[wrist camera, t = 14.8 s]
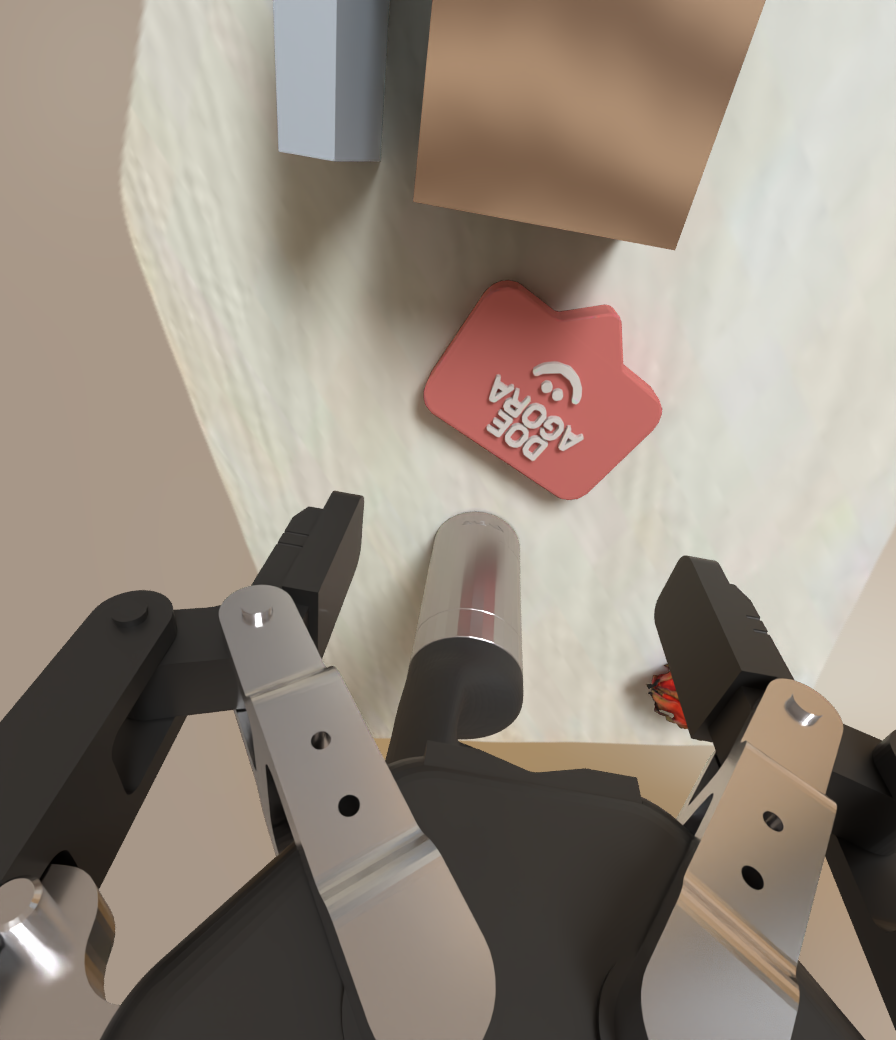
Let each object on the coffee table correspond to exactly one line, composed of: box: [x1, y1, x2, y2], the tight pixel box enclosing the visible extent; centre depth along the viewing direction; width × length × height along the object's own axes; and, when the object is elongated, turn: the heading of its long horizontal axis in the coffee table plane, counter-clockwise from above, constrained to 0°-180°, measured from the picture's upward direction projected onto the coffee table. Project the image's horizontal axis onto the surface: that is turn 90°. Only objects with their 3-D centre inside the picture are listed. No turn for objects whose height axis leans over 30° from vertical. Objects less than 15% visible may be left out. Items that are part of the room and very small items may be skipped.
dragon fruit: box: [646, 664, 702, 741], centre depth 61 cm, size 8×8×12 cm
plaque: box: [424, 280, 662, 500], centre depth 44 cm, size 18×4×15 cm
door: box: [273, 0, 390, 161], centre depth 28 cm, size 4×14×12 cm, turn 172°
